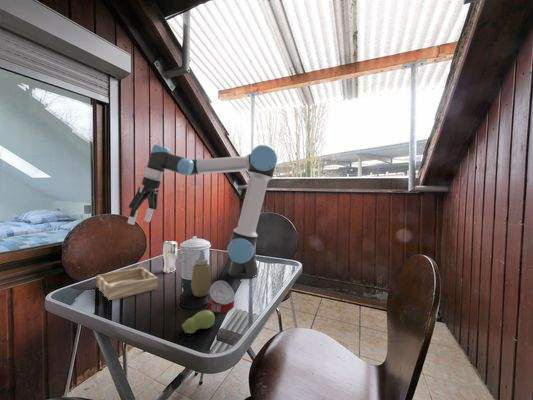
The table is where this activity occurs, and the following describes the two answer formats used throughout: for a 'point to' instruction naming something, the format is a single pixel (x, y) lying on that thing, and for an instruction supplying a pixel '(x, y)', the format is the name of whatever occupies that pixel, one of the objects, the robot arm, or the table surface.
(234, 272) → the robot arm
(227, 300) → the canned food
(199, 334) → the table surface
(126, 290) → the crate
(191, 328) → the pear
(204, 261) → the squeeze bottle
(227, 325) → the table surface
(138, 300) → the table surface
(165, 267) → the beer glass
